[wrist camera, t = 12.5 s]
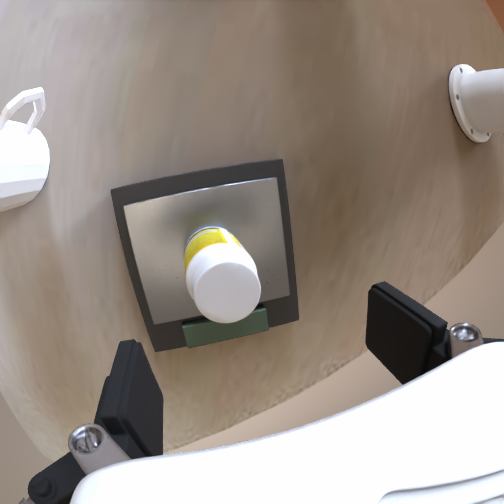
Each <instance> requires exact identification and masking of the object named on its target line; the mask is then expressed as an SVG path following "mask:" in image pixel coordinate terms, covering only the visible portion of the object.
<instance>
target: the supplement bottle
mask: <svg viewBox="0 0 504 504" xmlns="http://www.w3.org/2000/svg"><path fill="white" fill-rule="evenodd" d="M184 266H185V280H186V286H187V289H188V292H189V294H190V295H191V297H192V298H193V300H194V301H195V304H196V306H197V308H198V310H199V311H200V312H201V313H202V314H203V315H204V316H205V317H206V318H208V319H210V320H212V321H214V322H218V323H233V322H237V321H239V320H241V319H243V318H245V317H247V316H248V315H249V314H250V313H251V312H252V311H253V310H254V309H255V307H256V306H257V304H258V302H259V299H260V294H261V285H260V281H259V278H258V276H257V269H256V265H255V263H254V261H253V259H252V258H251V256H250V255H249V254H248V252H247V251H246V250H245V249H244V247H243V246H242V245H241V244H240V242H239V241H238V240H237V239H236V238H235V236H234V235H233V234H232V233H230V232H229V231H227V230H226V229H223V228H220V227H206V228H203V229H200V230H198V231H197V232H195V233H194V234H193V235H192V236H191V237H190V239H189V240H188V242H187V244H186V246H185V251H184Z"/></svg>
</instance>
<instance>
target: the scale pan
mask: <svg viewBox="0 0 504 504" xmlns="http://www.w3.org/2000/svg"><path fill="white" fill-rule="evenodd" d="M123 209H124V214H125V219H126V223H127V228H128V232H129V237H130V241H131V245H132V249H133V253H134V257H135V261H136V265H137V269H138V273H139V276H140V280H141V284H142V287H143V291H144V294H145V297H146V301H147V304H148V307H149V311H150V314H151V317H152V320H153V323H154V325H155V324H160V323H166V322H171V321H176V320H181V319H186V318H191V317H196V316H201V315H203V314H202V313H201V312H200V311H199V310H198V308H197V306H196V304H195V301H194V300H193V298H192V297H191V295H190V294H189V292H188V289H187V286H186V280H185V266H184V251H185V246H186V244H187V242H188V240H189V239H190V237H191V236H192V235H193V234H194V233H195V232H197V231H198V230H200V229H203V228H206V227H220V228H223V229H226V230H227V231H229V232H230V233H232V234H233V235H234V236H235V238H236V239H237V240H238V241H239V242H240V244H241V245H242V246H243V247H244V249H245V250H246V251H247V252H248V254H249V255H250V256H251V258H252V259H253V261H254V263H255V265H256V269H257V276H258V278H259V281H260V285H261V294H260V299H259V302H258V303H260V302H264V301H268V300H272V299H277V298H281V297H285V296H289V295H290V290H289V280H288V270H287V260H286V250H285V241H284V232H283V223H282V215H281V206H280V198H279V190H278V182H277V177H271V178H264V179H257V180H250V181H243V182H237V183H231V184H225V185H219V186H213V187H207V188H202V189H196V190H191V191H186V192H181V193H176V194H171V195H166V196H161V197H156V198H151V199H147V200H142V201H138V202H133V203H129V204H125V205H123Z"/></svg>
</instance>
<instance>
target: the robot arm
mask: <svg viewBox="0 0 504 504" xmlns="http://www.w3.org/2000/svg"><path fill="white" fill-rule="evenodd" d="M449 94H450V100H451V104H452V108H453V111H454V114H455V116H456V119H457V121H458V123H459V125H460V127H461V129H462V130H463V131H464V133H465V134H466V135H467V136H468V137H469V139H471V140H472V141H474V142H481V143H483V142H486V141H487V140H488V139H489V138H490V136H491V134H492V133H504V68H502V69H494V70H486V71H480V72H476V71H475V70H474V69H473V68H472V67H470V66H468V65H465V64H462V65H457V66H455V67H454V68H453V69H452V71H451V73H450V77H449ZM447 323H448V322H446V321H445V320H443V319H442V318H440V317H439V316H437V315H436V314H434V313H433V312H431V311H430V310H428V309H427V308H425V307H424V306H422V305H421V304H419V303H418V302H416V301H415V300H413V299H412V298H410V297H409V296H407V295H406V294H404V293H402V292H401V291H399V290H398V289H396V288H395V287H393V286H392V285H390V284H388V283H387V282H385V281H384V282H380V283H377V284H374V285H372V287H371V289H370V290H369V292H368V311H367V327H366V346H367V348H368V349H369V350H370V351H371V352H372V353H373V354H374V355H375V356H376V357H377V358H378V359H379V360H380V361H381V362H382V364H383V365H384V366H385V367H386V368H387V369H388V370H389V371H390V372H391V373H392V374H393V375H394V376H395V377H396V378H397V379H398V380H399V381H400V383H402V386H400V387H398V388H396V389H394V390H392V391H389V392H387V393H385V394H383V395H381V396H379V397H376V398H374V399H372V400H370V401H367V402H365V403H363V404H360V405H358V406H355V407H353V408H350V409H348V410H345V411H343V412H340V413H337V414H335V415H332V416H329V417H326V418H323V419H321V420H318V421H315V422H312V423H309V424H306V425H302V426H299V427H296V428H293V429H290V430H286V431H283V432H279V433H275V434H272V435H268V436H264V437H260V438H256V439H252V440H247V441H243V442H238V443H234V444H229V445H224V446H218V447H213V448H208V449H202V450H195V451H190V452H182V453H174V454H167V455H163V395H162V392H161V390H160V388H159V385H158V383H157V381H156V379H155V376H154V374H153V372H152V369H151V367H150V364H149V362H148V360H147V357H146V355H145V352H144V350H143V347H142V345H141V343H140V342H138V343H136V341H135V340H134V339H132V340H126V341H120V343H119V346H118V349H117V352H116V356H115V359H114V362H113V366H112V369H111V373H110V376H107V377H106V379H105V382H104V386H103V389H102V393H101V397H100V400H99V404H98V408H97V412H96V416H95V420H94V424H91V423H89V424H84V425H81V426H79V427H77V428H76V429H75V430H74V431H73V432H72V433H71V435H70V437H69V439H68V446H69V449H70V452H69V453H67V454H66V455H64V456H63V457H62V458H60V459H59V460H57V461H56V462H54V463H53V464H51V465H50V466H48V467H47V468H45V469H44V470H43V471H41V472H39V473H38V474H37V475H35V476H34V477H33V478H32V479H31V481H30V482H29V485H28V494H29V498H28V499H27V500H26V499H25V498H23V499H22V500H21V501H20V503H19V504H504V339H491V338H483V337H482V334H481V332H480V330H479V329H478V328H477V327H475V326H474V325H472V324H468V323H458V324H455V325H453V326H452V327H451V328H450V330H448V329H446V328H447Z"/></svg>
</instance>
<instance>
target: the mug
mask: <svg viewBox="0 0 504 504" xmlns="http://www.w3.org/2000/svg"><path fill="white" fill-rule="evenodd" d="M32 102H33V105H34V111H33V113H32V116H31V118H30V120H29V122H28V123H27V124H23V123H19V122H15V121H10V120H9V118H10V117H11V116H12V115H13V114H14V113H15V112H16V111H17V110H18V109H19V108H21V107H22V106H23V105H26V104H29V103H32ZM45 109H46V105H45V98H44V91H43V89H42V88H41V87H39V88H35V89H31V90H27V91H24V92H21V93H20V94H19V95H17V96H16V97H15V98H14V99H13V100H11V101H10V102H9V103H8V104H7V105H6V106H5V108H4V109H3V111H2V113H1V114H0V212H3V211H6V210H9V209H12V208H16V207H19V206H23V205H26V204H27V203H29V202H30V201H32V200H33V199H34V198H35V197H36V196H37V194H38V193H39V192H40V191H41V189H42V187H43V185H44V183H45V181H46V179H47V175H48V170H49V165H50V160H49V149H48V145H47V142H46V139H45V138H44V136H43V135H42V133H41V132H40V131H39V130H38V129H36V128H35V127H36V126H37V124H38V122H39V120H40V118H41V117H42V115H43V113H44V111H45Z"/></svg>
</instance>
